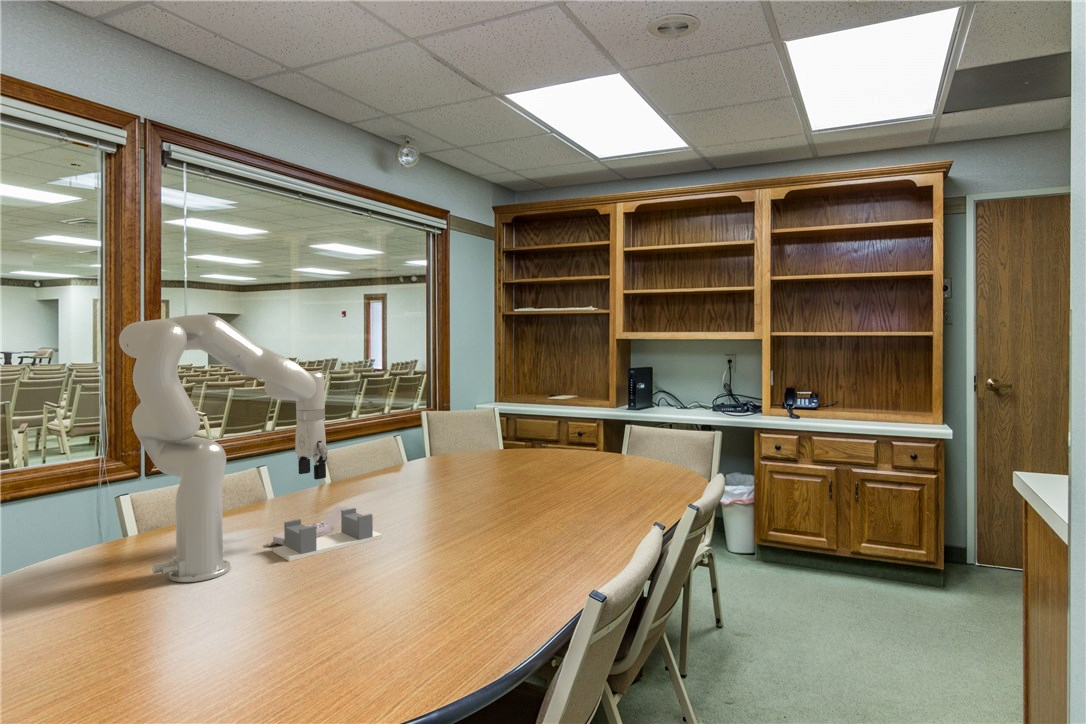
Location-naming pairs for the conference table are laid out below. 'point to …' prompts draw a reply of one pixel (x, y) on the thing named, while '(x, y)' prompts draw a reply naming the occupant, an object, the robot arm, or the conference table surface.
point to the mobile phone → (321, 527)
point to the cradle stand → (306, 544)
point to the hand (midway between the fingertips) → (312, 475)
